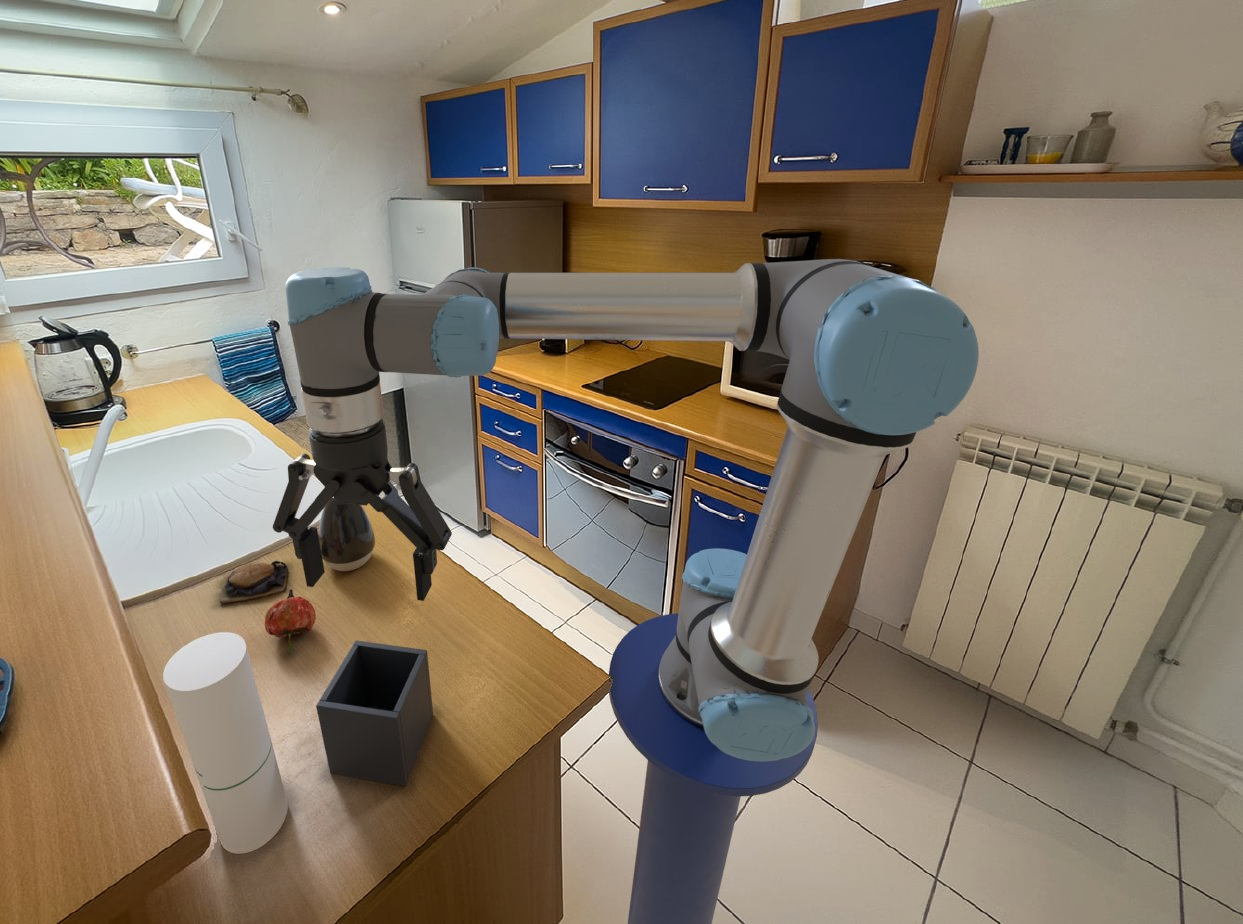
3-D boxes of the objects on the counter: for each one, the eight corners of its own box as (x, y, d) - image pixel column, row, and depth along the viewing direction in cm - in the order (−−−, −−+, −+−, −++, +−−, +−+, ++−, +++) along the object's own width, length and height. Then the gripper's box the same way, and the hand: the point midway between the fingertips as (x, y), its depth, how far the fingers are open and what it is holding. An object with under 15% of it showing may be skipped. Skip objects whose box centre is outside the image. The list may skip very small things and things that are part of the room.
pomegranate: (320, 654, 89) (326, 590, 94) (300, 650, 83) (308, 582, 88) (274, 659, 89) (283, 595, 94) (250, 655, 83) (261, 586, 88)
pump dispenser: (389, 553, 109) (381, 487, 104) (351, 586, 101) (340, 515, 95) (349, 539, 113) (339, 474, 107) (310, 570, 105) (296, 501, 99)
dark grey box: (315, 706, 65) (355, 640, 74) (329, 774, 69) (365, 704, 79) (396, 718, 63) (427, 650, 73) (405, 787, 68) (433, 714, 77)
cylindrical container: (266, 776, 69) (224, 622, 59) (300, 811, 65) (260, 653, 56) (207, 827, 64) (149, 666, 54) (239, 869, 60) (184, 704, 50)
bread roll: (218, 607, 95) (213, 591, 94) (226, 576, 103) (222, 560, 101) (285, 593, 99) (281, 577, 97) (288, 564, 106) (285, 548, 105)
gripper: (211, 428, 55) (252, 595, 64) (451, 449, 52) (462, 622, 60) (259, 400, 62) (290, 554, 70) (473, 416, 59) (480, 576, 67)
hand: (369, 586), depth 65 cm, fingers open, 13 cm apart
